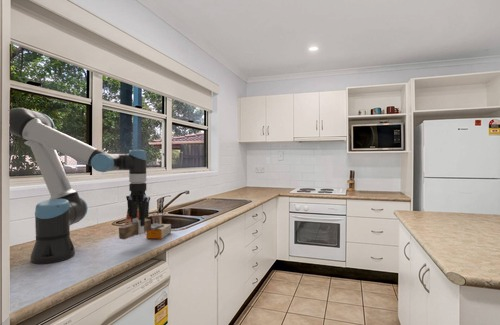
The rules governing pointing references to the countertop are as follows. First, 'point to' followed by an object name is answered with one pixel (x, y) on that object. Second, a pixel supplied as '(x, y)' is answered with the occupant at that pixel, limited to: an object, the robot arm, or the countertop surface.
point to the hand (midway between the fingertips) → (138, 232)
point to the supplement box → (159, 232)
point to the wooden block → (136, 229)
